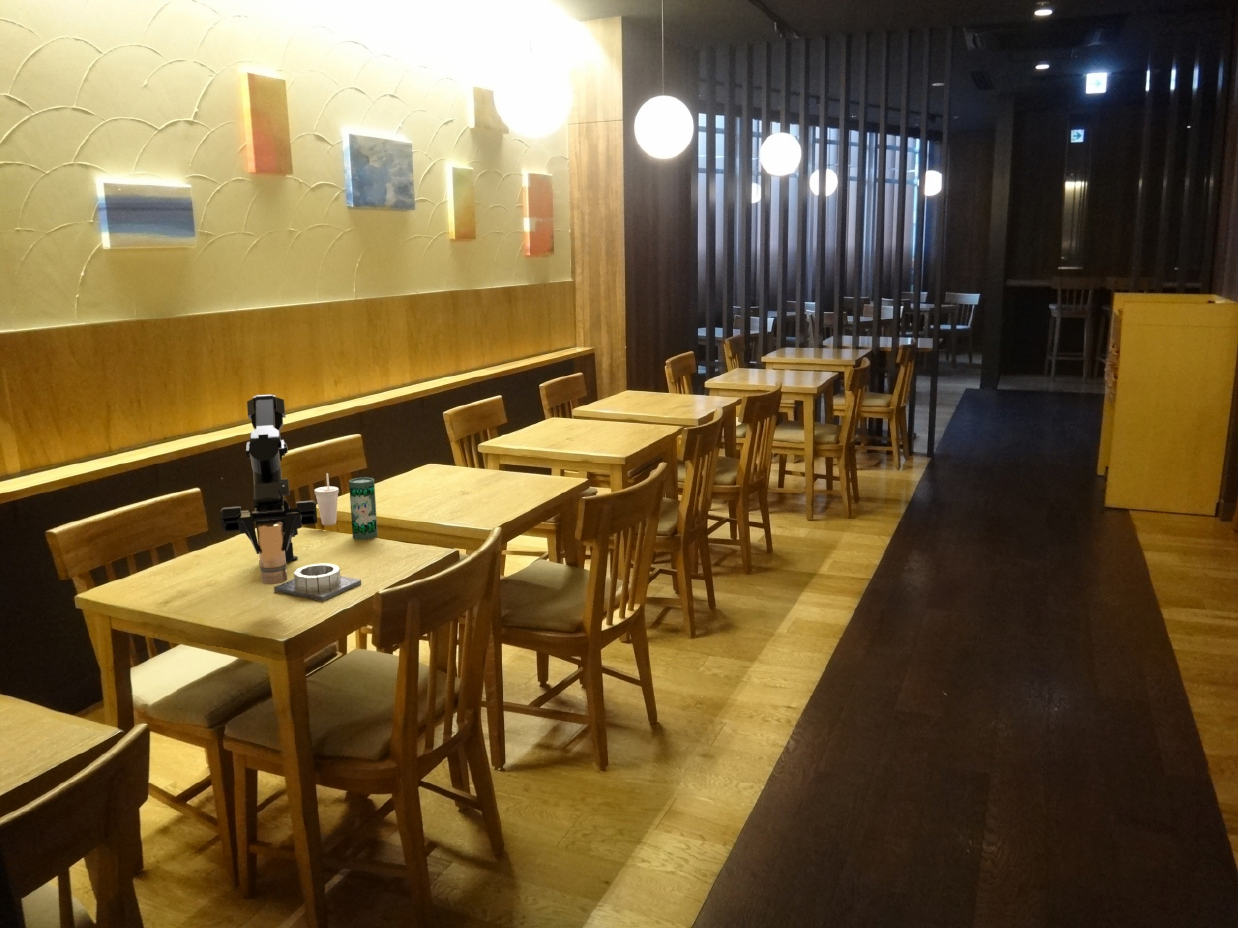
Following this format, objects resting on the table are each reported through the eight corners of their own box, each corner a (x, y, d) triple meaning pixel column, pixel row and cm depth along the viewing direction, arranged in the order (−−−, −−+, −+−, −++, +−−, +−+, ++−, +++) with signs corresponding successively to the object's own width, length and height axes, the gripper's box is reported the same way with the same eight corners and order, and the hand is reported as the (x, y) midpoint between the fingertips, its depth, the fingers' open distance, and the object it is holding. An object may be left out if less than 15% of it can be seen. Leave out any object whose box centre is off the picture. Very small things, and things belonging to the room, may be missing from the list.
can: (351, 540, 251) (348, 483, 247) (354, 533, 256) (350, 478, 253) (376, 539, 251) (372, 482, 248) (378, 532, 257) (374, 477, 254)
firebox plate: (274, 591, 214) (272, 573, 213) (313, 575, 224) (312, 558, 223) (322, 601, 208) (321, 583, 207) (361, 583, 218) (360, 566, 217)
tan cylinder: (255, 582, 200) (250, 526, 198) (274, 574, 205) (270, 519, 202) (274, 586, 198) (269, 529, 195) (293, 578, 203) (288, 522, 200)
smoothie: (334, 527, 262) (330, 476, 259) (312, 526, 263) (308, 475, 260) (345, 520, 268) (341, 471, 265) (323, 519, 269) (320, 470, 266)
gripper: (216, 469, 197) (217, 537, 189) (312, 462, 203) (318, 528, 195) (222, 497, 206) (224, 563, 198) (314, 490, 212) (320, 554, 204)
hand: (271, 551), depth 199 cm, fingers closed on tan cylinder, 5 cm apart
